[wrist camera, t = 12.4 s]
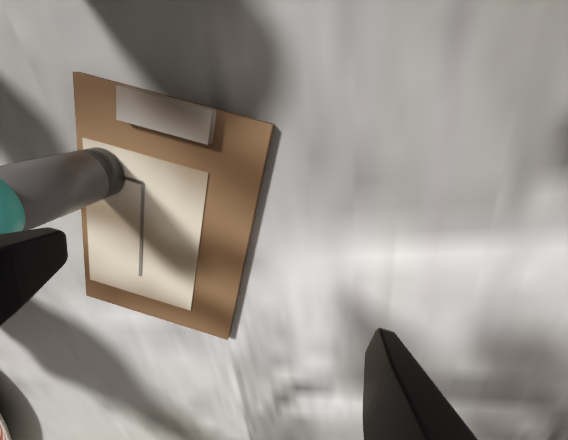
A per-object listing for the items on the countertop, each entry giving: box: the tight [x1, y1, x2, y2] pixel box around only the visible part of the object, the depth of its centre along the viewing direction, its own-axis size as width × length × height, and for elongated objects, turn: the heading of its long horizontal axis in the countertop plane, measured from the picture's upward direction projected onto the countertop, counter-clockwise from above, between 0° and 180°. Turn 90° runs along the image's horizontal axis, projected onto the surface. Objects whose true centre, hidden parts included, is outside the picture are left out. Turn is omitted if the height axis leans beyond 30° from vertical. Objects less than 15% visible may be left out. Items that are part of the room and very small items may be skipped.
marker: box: [0, 147, 125, 234], centre depth 17 cm, size 3×3×8 cm
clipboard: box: [73, 72, 274, 340], centre depth 22 cm, size 18×13×1 cm
